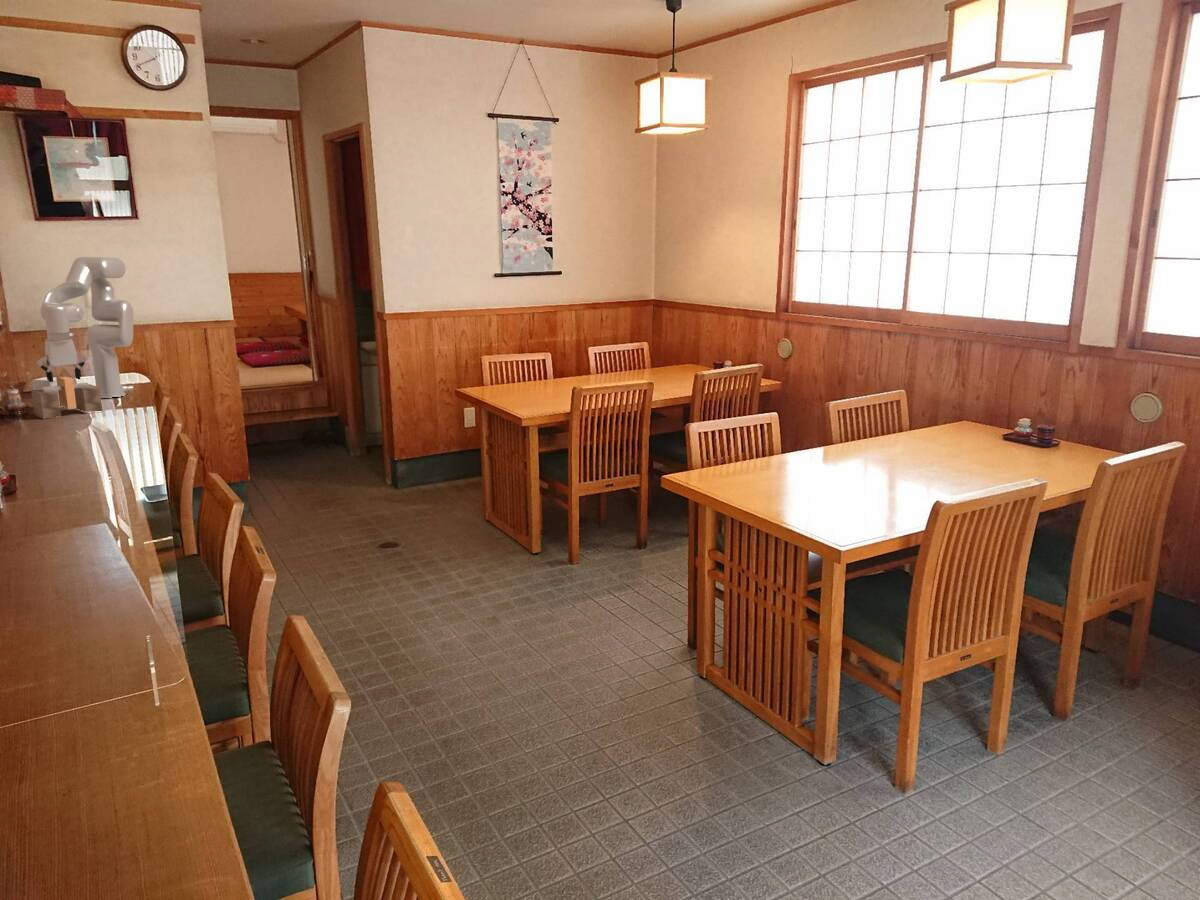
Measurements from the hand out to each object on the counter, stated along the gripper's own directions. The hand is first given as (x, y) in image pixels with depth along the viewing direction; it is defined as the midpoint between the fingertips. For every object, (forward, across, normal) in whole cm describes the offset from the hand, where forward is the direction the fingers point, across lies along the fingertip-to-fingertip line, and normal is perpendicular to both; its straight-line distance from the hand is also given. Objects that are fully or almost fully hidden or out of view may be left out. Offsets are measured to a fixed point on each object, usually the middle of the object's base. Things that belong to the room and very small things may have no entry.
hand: (64, 380), depth 331 cm
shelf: (+13, 0, 0) cm, 13 cm away
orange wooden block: (+11, 0, 0) cm, 11 cm away
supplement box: (+14, +2, -14) cm, 20 cm away
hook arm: (+3, 0, 0) cm, 3 cm away
